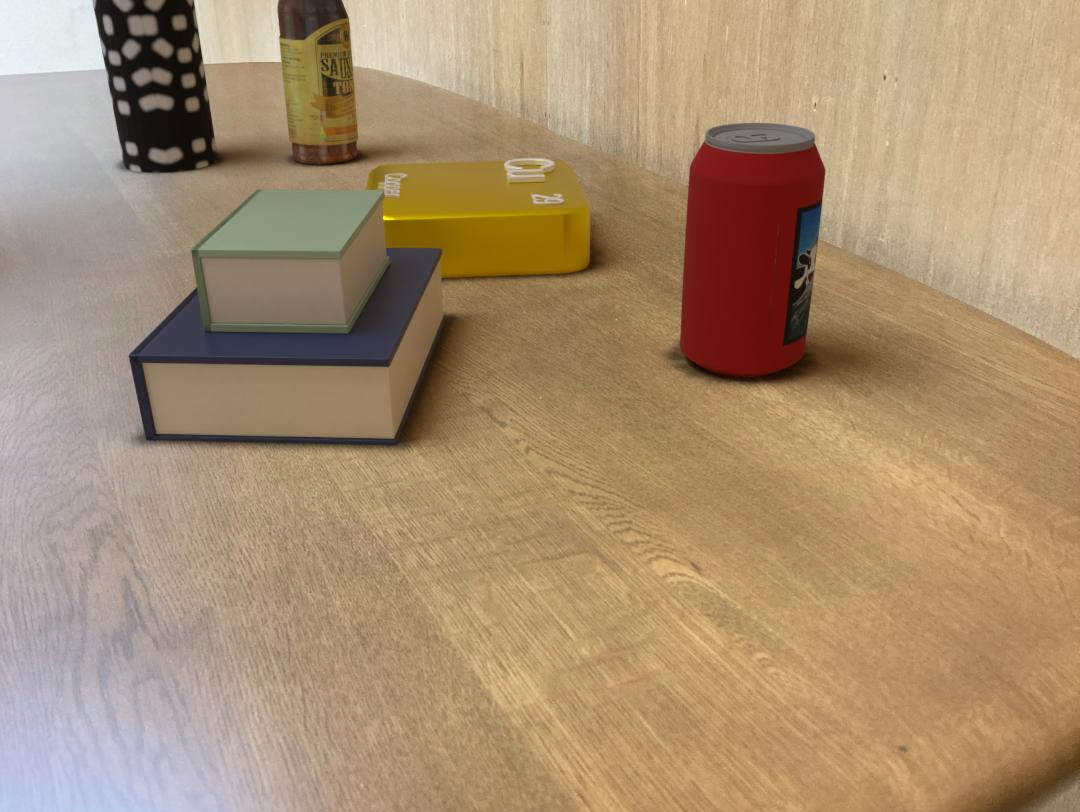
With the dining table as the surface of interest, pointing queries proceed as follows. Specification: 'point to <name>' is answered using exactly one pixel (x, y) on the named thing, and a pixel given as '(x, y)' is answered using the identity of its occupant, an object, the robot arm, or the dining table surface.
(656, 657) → the dining table surface
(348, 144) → the sauce bottle
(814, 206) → the beverage can
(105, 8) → the spotted tube
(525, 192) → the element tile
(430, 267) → the encyclopedia
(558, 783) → the dining table surface
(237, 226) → the hardcover book
